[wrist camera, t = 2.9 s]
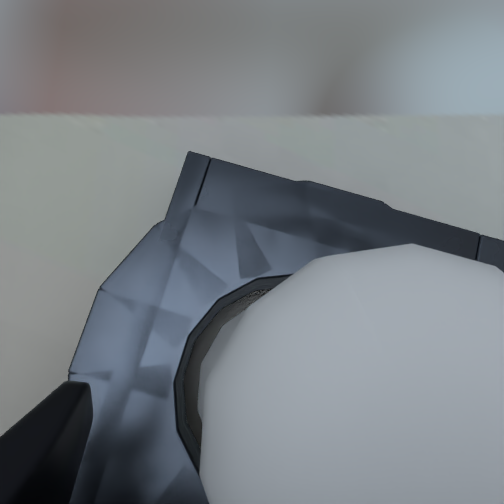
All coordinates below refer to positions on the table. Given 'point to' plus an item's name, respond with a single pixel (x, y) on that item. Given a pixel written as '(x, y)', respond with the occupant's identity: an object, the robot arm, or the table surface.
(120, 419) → the plate
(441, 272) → the white rounded peg
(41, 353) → the table surface
